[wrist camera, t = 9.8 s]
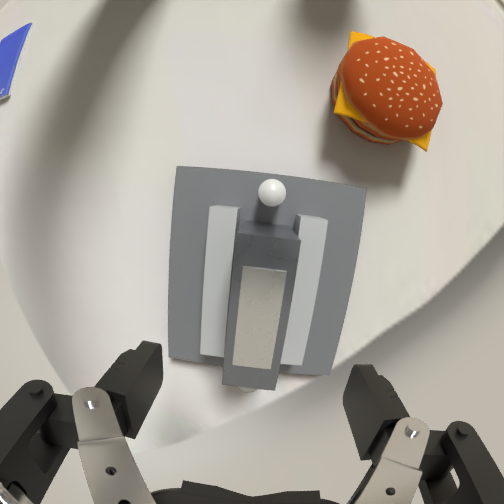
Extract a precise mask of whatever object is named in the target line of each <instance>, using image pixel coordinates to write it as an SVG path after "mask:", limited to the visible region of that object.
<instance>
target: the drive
mask: <svg viewBox="0 0 504 504" xmlns="http://www.w3.org/2000/svg"><path fill="white" fill-rule="evenodd" d="M300 245H301V239H300V238H299V237H298V236H297V235H296V233H295V232H294V231H293V230H292V229H291V227H290V226H289V225H282V224H274V223H266V222H257V221H249V220H246V221H245V222H244V223H243V225H242V226H241V227H240V229H239V230H238V231H237V232H236V241H235V251H234V261H233V270H232V280H231V290H230V301H229V311H228V322H227V332H226V344H225V355H224V366H223V378H222V384H223V385H230V386H237V387H245V388H254V389H264V390H275V387H276V382H277V378H278V373H279V368H280V363H281V358H282V352H283V347H284V342H285V337H286V331H287V326H288V320H289V314H290V309H291V303H292V297H293V291H294V285H295V278H296V272H297V266H298V259H299V252H300Z"/></svg>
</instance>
